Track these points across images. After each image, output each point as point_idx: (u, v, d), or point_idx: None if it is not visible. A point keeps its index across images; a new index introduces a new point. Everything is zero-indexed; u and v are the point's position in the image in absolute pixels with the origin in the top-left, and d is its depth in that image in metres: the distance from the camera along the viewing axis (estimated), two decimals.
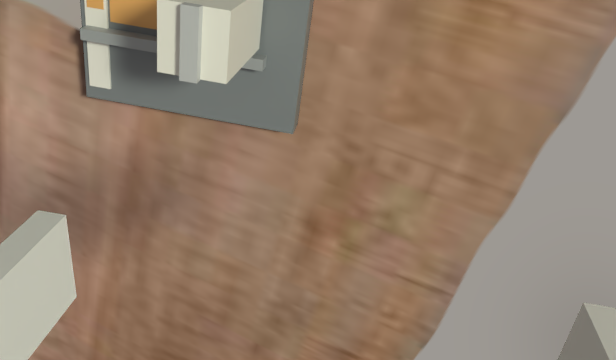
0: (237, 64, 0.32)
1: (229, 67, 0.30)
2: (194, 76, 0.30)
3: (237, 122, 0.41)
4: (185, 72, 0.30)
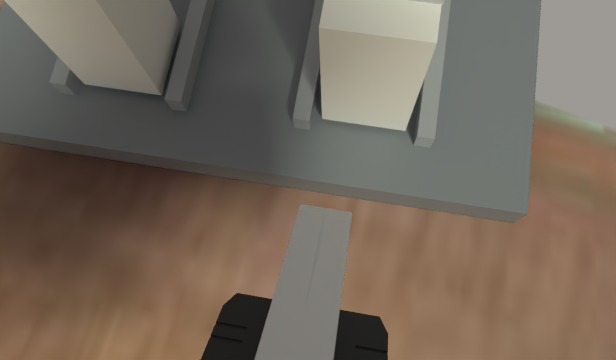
0: (33, 20, 0.22)
1: None
2: None
3: None
4: None
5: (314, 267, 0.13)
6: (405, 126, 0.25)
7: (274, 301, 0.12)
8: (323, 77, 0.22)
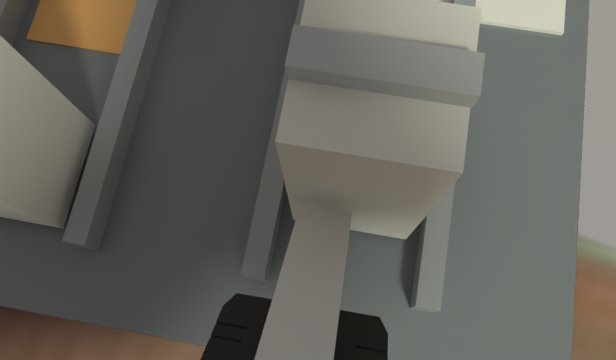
0: None
1: None
2: None
3: None
4: None
5: (314, 267, 0.13)
6: (406, 236, 0.19)
7: (274, 301, 0.12)
8: (289, 187, 0.15)
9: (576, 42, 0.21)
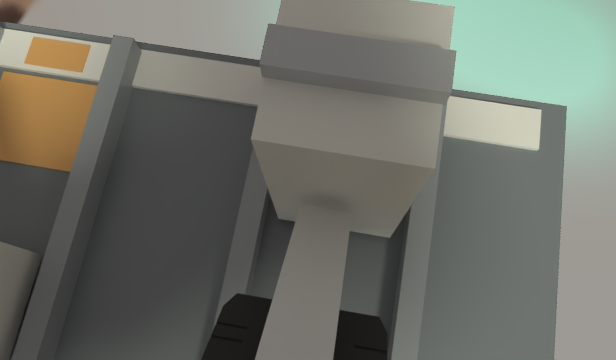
0: None
1: None
2: None
3: None
4: None
5: (314, 267, 0.13)
6: (389, 234, 0.19)
7: (274, 301, 0.12)
8: (270, 185, 0.15)
9: (552, 158, 0.20)
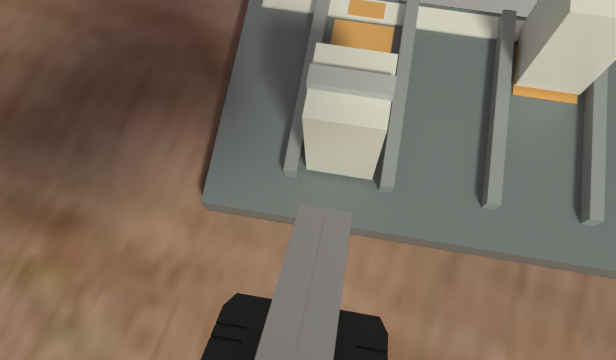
0: (313, 136, 0.28)
1: (319, 123, 0.26)
2: (315, 81, 0.25)
3: (217, 138, 0.34)
4: (319, 71, 0.26)
5: (314, 267, 0.13)
6: (582, 90, 0.34)
7: (274, 301, 0.12)
8: (543, 50, 0.30)
9: None
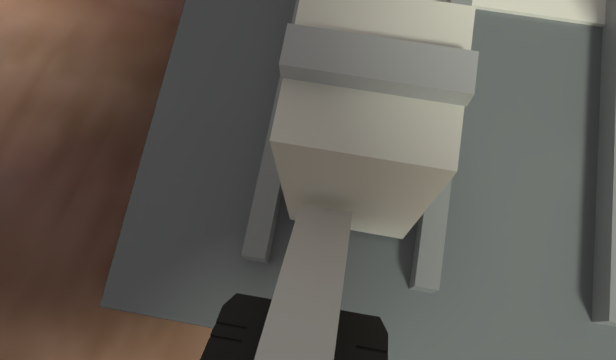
0: (297, 174, 0.14)
1: (307, 152, 0.12)
2: (298, 61, 0.12)
3: (134, 191, 0.20)
4: (308, 40, 0.12)
5: (314, 267, 0.13)
6: None
7: (273, 301, 0.12)
8: None
9: None
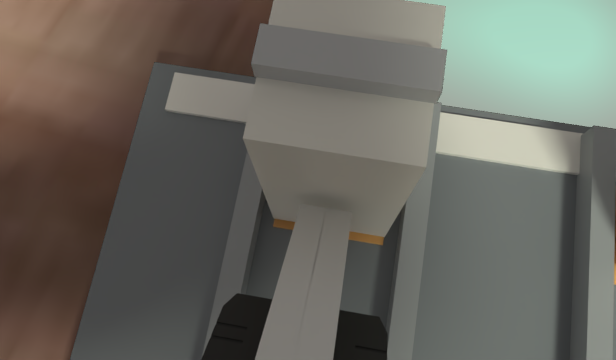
0: (274, 172, 0.14)
1: (281, 149, 0.12)
2: (270, 61, 0.12)
3: None
4: (280, 40, 0.12)
5: (314, 267, 0.13)
6: None
7: (274, 301, 0.12)
8: None
9: None
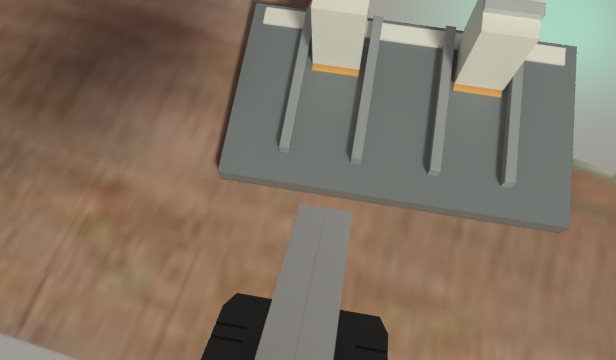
0: (318, 25, 0.41)
1: (322, 12, 0.39)
2: None
3: (229, 123, 0.45)
4: None
5: (314, 267, 0.13)
6: (504, 87, 0.45)
7: (274, 301, 0.12)
8: (469, 57, 0.41)
9: (570, 69, 0.46)
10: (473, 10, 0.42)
